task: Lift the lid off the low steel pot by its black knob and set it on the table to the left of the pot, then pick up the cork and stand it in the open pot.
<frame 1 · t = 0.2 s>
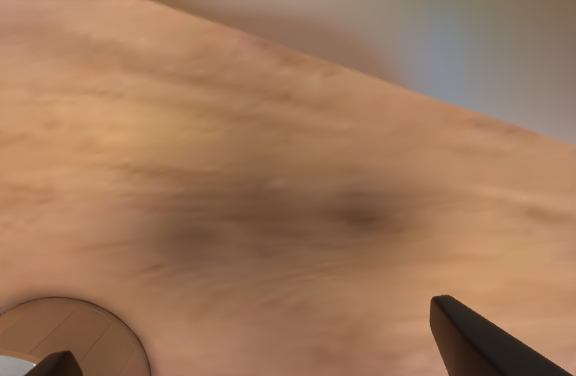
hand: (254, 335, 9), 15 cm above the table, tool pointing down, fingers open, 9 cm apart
pot: (65, 374, 26), on the table
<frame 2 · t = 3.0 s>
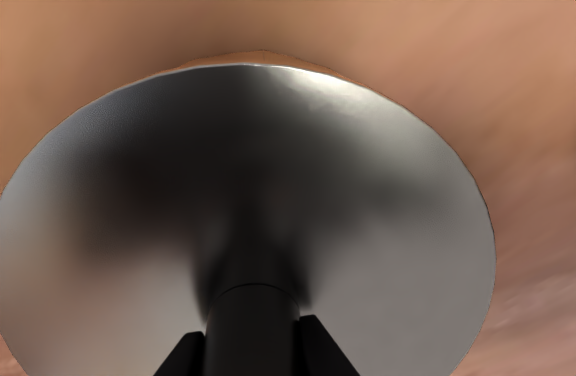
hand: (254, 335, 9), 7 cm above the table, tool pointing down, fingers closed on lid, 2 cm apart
lid: (254, 305, 10), point 6 cm above the table, touching gripper, pot
pot: (257, 204, 15), on the table
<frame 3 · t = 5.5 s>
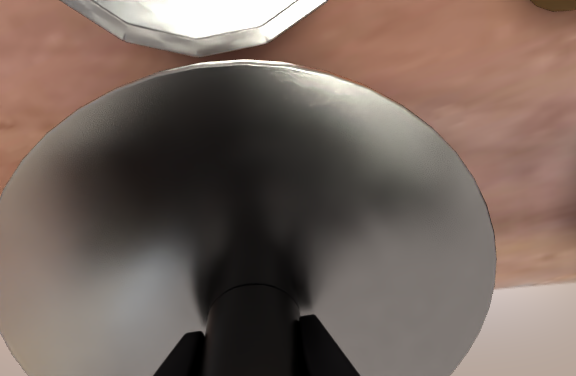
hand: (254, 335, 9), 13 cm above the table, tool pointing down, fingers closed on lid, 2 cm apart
lid: (254, 306, 10), point 12 cm above the table, touching gripper
when the fingers open (2 cm above the table, at t = 8.3 s): lid stays where it is, point 1 cm above the table.
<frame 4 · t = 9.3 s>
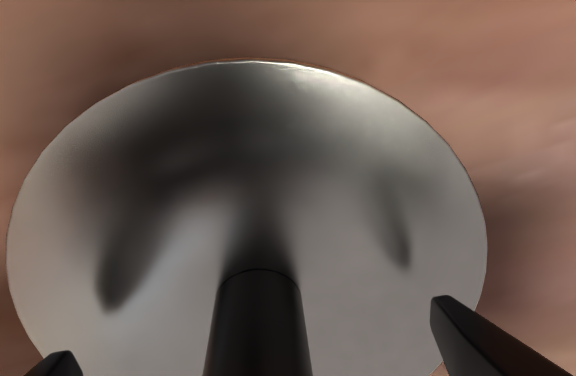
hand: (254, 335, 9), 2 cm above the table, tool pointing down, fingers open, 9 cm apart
lid: (258, 291, 10), point 1 cm above the table
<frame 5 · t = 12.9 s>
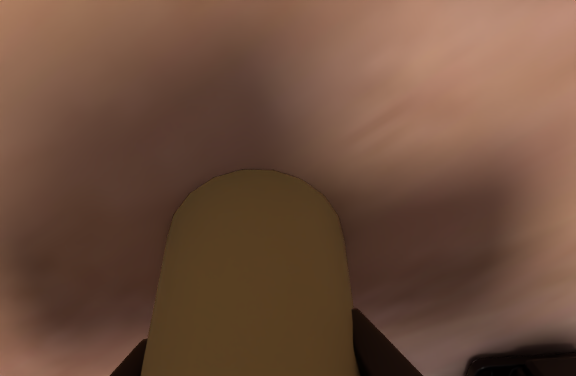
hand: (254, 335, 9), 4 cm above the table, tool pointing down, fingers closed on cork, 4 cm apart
cork: (257, 247, 13), on the table, touching gripper
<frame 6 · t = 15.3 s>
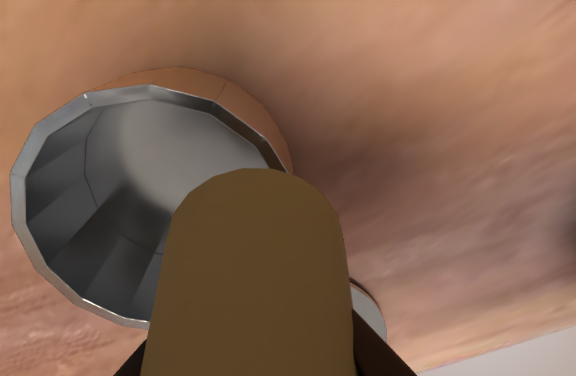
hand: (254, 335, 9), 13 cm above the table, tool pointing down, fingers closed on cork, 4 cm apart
lid: (299, 342, 27), point 1 cm above the table
pot: (187, 175, 21), on the table
cork: (256, 245, 13), point 9 cm above the table, touching gripper
when the fingers open (4 cm above the table, at t = 18.2 s): cork stays where it is, resting on pot.
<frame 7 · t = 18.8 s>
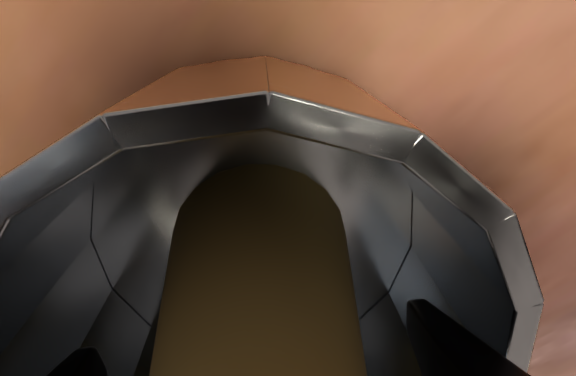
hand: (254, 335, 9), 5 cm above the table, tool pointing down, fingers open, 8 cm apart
pot: (257, 234, 13), on the table
cork: (260, 240, 13), resting on pot
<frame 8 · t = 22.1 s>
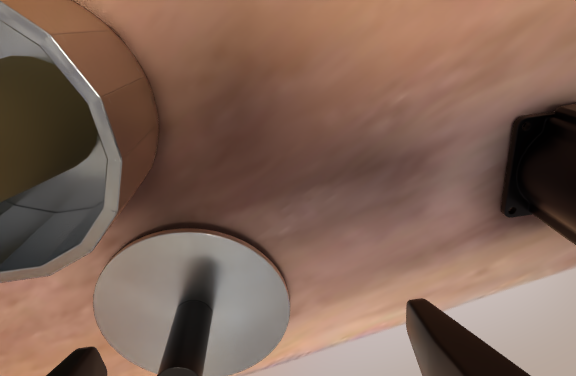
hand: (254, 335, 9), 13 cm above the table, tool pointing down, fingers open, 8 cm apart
lid: (195, 309, 24), point 1 cm above the table
pot: (39, 114, 19), on the table
cork: (38, 116, 19), resting on pot
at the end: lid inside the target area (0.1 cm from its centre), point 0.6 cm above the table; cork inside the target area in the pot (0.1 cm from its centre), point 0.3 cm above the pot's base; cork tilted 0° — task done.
